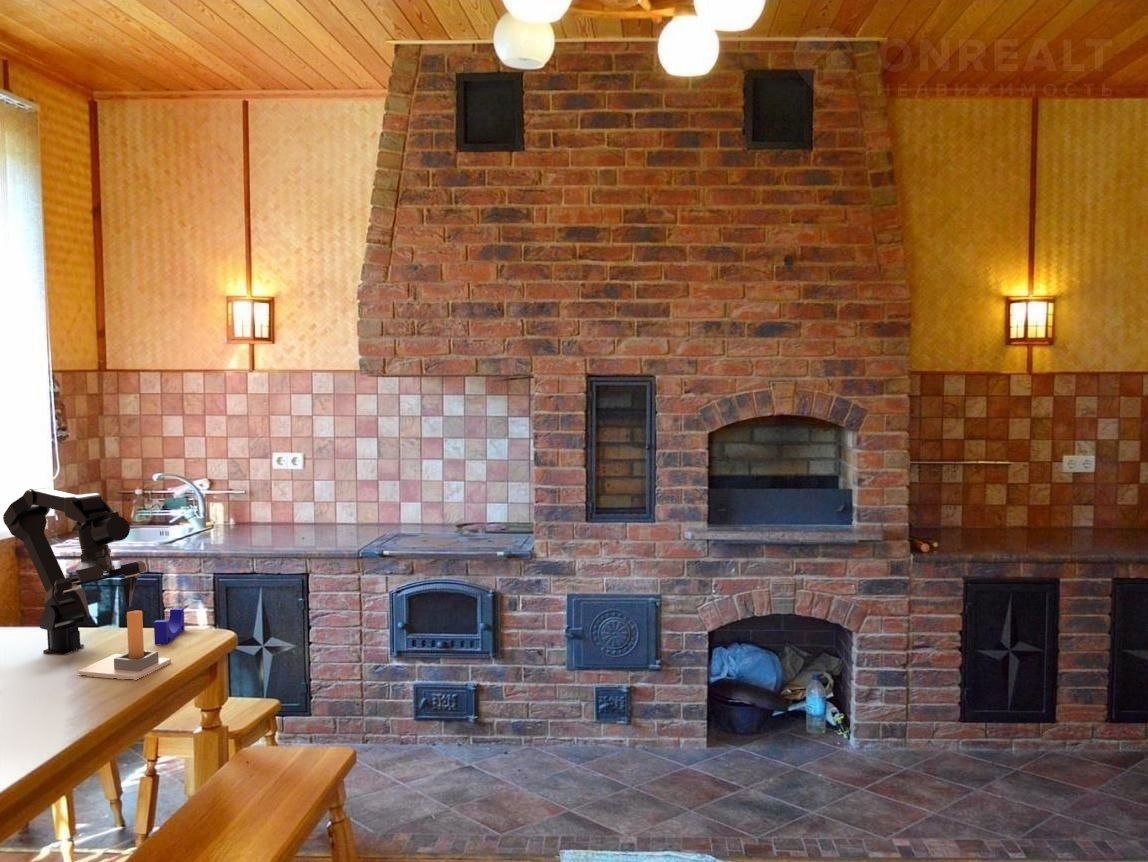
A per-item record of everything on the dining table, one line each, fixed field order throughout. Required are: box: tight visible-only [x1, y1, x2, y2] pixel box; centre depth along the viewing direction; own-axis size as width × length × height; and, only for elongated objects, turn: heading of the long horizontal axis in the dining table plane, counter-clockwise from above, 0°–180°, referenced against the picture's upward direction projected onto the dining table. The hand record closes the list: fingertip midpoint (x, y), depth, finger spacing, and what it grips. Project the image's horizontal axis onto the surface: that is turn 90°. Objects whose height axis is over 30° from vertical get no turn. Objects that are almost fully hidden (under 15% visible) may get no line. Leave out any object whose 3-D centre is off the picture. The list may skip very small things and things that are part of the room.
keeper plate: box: [77, 649, 172, 681], centre depth 214 cm, size 15×12×4 cm
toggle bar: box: [126, 609, 145, 659], centre depth 213 cm, size 3×3×12 cm
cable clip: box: [153, 607, 186, 646], centre depth 237 cm, size 12×4×6 cm, turn 3°
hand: (108, 612), depth 217 cm, fingers open, 9 cm apart
